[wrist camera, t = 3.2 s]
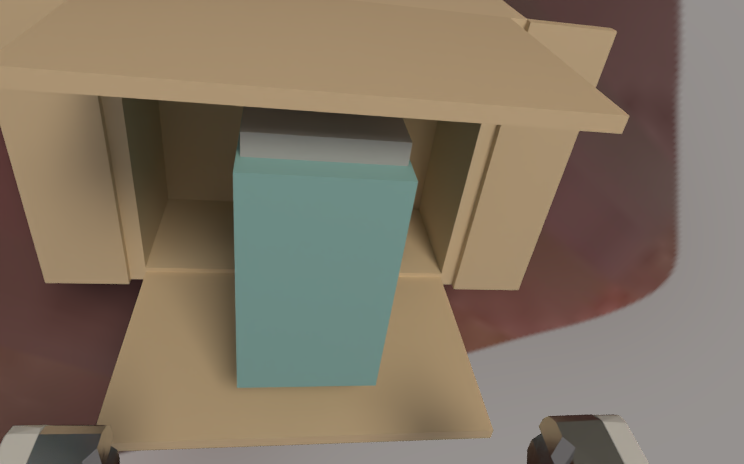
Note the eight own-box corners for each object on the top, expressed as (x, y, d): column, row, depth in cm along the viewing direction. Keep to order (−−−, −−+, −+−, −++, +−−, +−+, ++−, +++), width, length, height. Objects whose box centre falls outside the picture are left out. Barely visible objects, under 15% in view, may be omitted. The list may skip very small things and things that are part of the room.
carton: (480, 216, 29) (591, 434, 18) (90, 200, 25) (-50, 457, 15) (548, -10, 22) (777, 127, 12) (35, -72, 19) (-279, 44, 8)
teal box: (342, 179, 26) (375, 385, 16) (256, 175, 25) (237, 387, 15) (362, 12, 21) (422, 157, 12) (258, 1, 21) (232, 146, 11)
